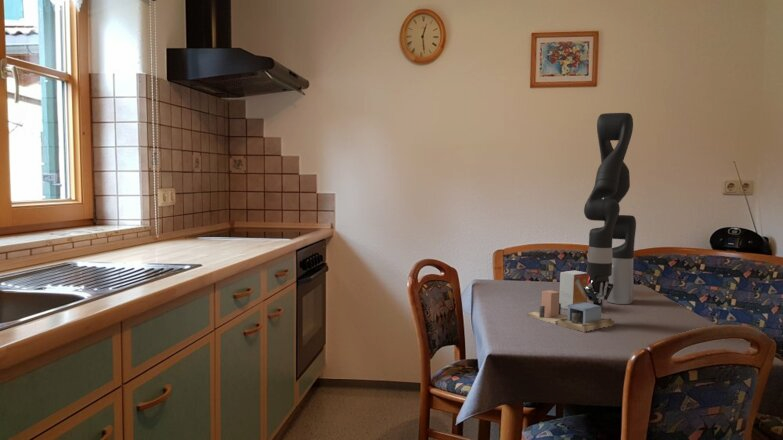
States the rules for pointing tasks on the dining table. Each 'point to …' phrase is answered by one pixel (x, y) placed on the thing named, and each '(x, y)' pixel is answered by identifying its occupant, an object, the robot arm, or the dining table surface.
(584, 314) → the cover
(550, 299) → the block
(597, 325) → the base
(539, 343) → the dining table surface
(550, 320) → the pin seat
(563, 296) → the small box
